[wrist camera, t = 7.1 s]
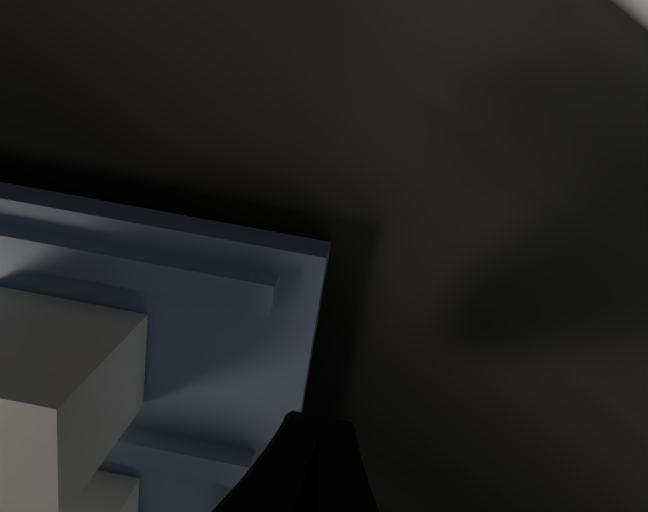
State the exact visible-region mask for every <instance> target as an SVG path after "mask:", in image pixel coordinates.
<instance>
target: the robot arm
mask: <svg viewBox="0 0 648 512" xmlns="http://www.w3.org/2000/svg"><path fill="white" fill-rule="evenodd" d="M211 512H379V510H378V508H377V505H376V502H375V499H374V496H373V494H372V491H371V488H370V485H369V482H368V479H367V476H366V473H365V470H364V466H363V463H362V459H361V455H360V451H359V447H358V443H357V437H356V430H355V427H354V426H353V424H352V423H351V422H348V421H343V420H338V419H333V418H328V417H323V416H318V415H313V414H307V413H302V412H297V411H291V412H289V413H287V414H286V415H285V417H284V420H283V422H282V423H281V425H280V427H279V428H278V430H277V432H276V433H275V435H274V436H273V438H272V439H271V441H270V442H269V444H268V445H267V446H266V448H265V449H264V451H263V452H262V453H261V455H260V456H259V457H258V458H257V460H256V461H255V462H254V463H253V465H252V466H251V467H250V469H249V470H248V471H247V472H246V474H245V475H244V476H243V477H242V478H241V480H240V481H239V482H238V483H237V484H236V485H235V486H234V487H233V489H232V490H231V491H230V492H229V493H228V494H227V495H226V496H225V497H224V498H223V500H222V501H221V502H220V503H219V504H218V505H217V506H216V507H215V508H214V509H213V510H212V511H211Z"/></svg>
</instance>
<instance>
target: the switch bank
mask: <svg viewBox="0 0 648 512" xmlns="http://www.w3.org/2000/svg"><path fill="white" fill-rule="evenodd" d="M330 246H331V242H328V241H322V240H317V239H311V238H306V237H300V236H295V235H289V234H284V233H278V232H273V231H267V230H262V229H256V228H251V227H245V226H240V225H234V224H229V223H223V222H218V221H212V220H207V219H201V218H196V217H190V216H185V215H180V214H174V213H169V212H163V211H158V210H152V209H147V208H141V207H136V206H130V205H125V204H119V203H114V202H108V201H103V200H97V199H92V198H86V197H81V196H75V195H70V194H64V193H59V192H53V191H48V190H42V189H37V188H31V187H26V186H20V185H15V184H10V183H4V182H0V286H1V287H6V288H11V289H16V290H22V291H27V292H32V293H37V294H42V295H48V296H53V297H58V298H63V299H69V300H74V301H79V302H84V303H90V304H95V305H100V306H105V307H111V308H116V309H121V310H126V311H132V312H137V313H142V314H147V315H148V319H147V339H146V360H145V380H144V401H143V406H142V407H141V409H140V410H139V412H138V413H137V414H136V416H135V417H134V419H133V420H132V421H131V423H130V424H129V426H128V427H127V429H126V430H125V431H124V433H123V434H122V436H121V437H120V438H119V440H118V441H117V443H116V444H115V445H114V447H113V448H112V450H111V451H110V452H109V454H108V455H107V457H106V458H105V459H104V461H103V462H102V464H101V465H100V466H99V468H98V469H97V470H101V471H106V472H110V473H115V474H120V475H125V476H130V477H135V478H140V482H139V503H138V512H211V511H212V510H213V509H214V508H215V507H216V506H217V505H218V504H219V503H220V502H221V501H222V500H223V498H224V497H225V496H226V495H227V494H228V493H229V492H230V491H231V490H232V489H233V487H234V486H235V485H236V484H237V483H238V482H239V481H240V480H241V478H242V477H243V476H244V475H245V474H246V472H247V471H248V470H249V469H250V467H251V466H252V465H253V463H254V462H255V461H256V460H257V458H258V457H259V456H260V455H261V453H262V452H263V451H264V449H265V448H266V446H267V445H268V444H269V442H270V441H271V439H272V438H273V436H274V435H275V433H276V432H277V430H278V428H279V427H280V425H281V423H282V422H283V420H284V417H285V415H286V414H287V413H289V412H291V411H297V412H302V409H303V404H304V398H305V392H306V386H307V380H308V374H309V369H310V363H311V357H312V351H313V345H314V339H315V334H316V328H317V322H318V316H319V310H320V305H321V299H322V293H323V287H324V281H325V275H326V270H327V264H328V258H329V252H330Z"/></svg>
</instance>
